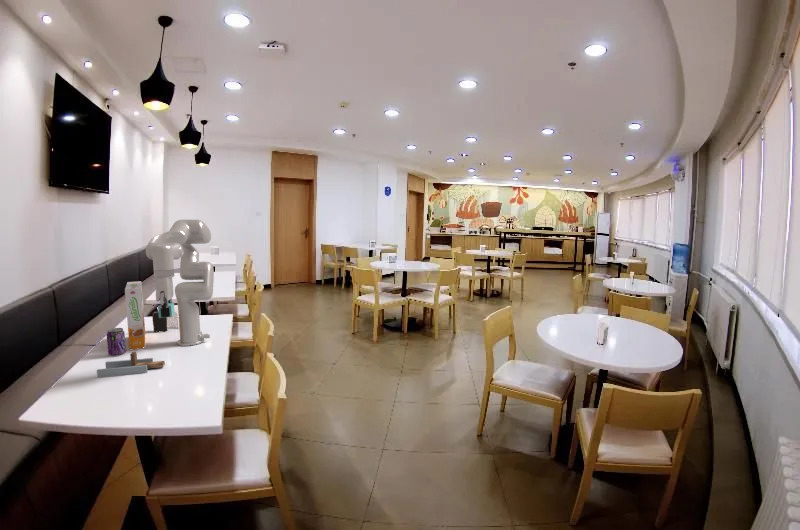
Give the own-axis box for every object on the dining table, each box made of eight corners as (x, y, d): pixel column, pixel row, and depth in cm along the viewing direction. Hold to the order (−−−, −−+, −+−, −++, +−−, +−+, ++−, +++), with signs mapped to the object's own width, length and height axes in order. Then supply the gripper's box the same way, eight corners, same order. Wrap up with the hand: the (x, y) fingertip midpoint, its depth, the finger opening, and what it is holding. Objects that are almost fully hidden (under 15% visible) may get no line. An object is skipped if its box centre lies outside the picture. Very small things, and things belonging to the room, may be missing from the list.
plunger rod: (164, 364, 185) (163, 349, 184) (163, 367, 182) (161, 351, 182) (133, 367, 182) (132, 352, 181) (131, 369, 179) (130, 354, 178)
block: (174, 314, 185) (173, 303, 184) (171, 317, 180) (171, 305, 179) (161, 314, 183) (161, 303, 183) (158, 317, 179) (157, 306, 178)
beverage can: (117, 357, 196) (115, 332, 194) (104, 356, 197) (102, 331, 195) (129, 352, 203) (127, 328, 201) (117, 351, 204) (115, 327, 202)
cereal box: (144, 347, 209) (140, 288, 205) (129, 349, 206) (124, 289, 202) (145, 335, 228) (141, 281, 224) (131, 337, 225) (127, 282, 221)
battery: (167, 329, 240) (166, 309, 239) (167, 331, 237) (166, 311, 235) (153, 331, 237) (152, 311, 235) (153, 332, 233) (151, 312, 232)
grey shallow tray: (153, 364, 187) (152, 357, 187) (146, 372, 178) (146, 365, 177) (106, 368, 182) (106, 361, 182) (97, 377, 173) (96, 370, 172)
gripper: (159, 271, 186) (162, 311, 189) (148, 277, 170) (151, 321, 172) (178, 270, 188) (181, 310, 191) (169, 276, 172) (172, 319, 175)
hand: (167, 314), depth 182 cm, fingers closed on block, 5 cm apart
